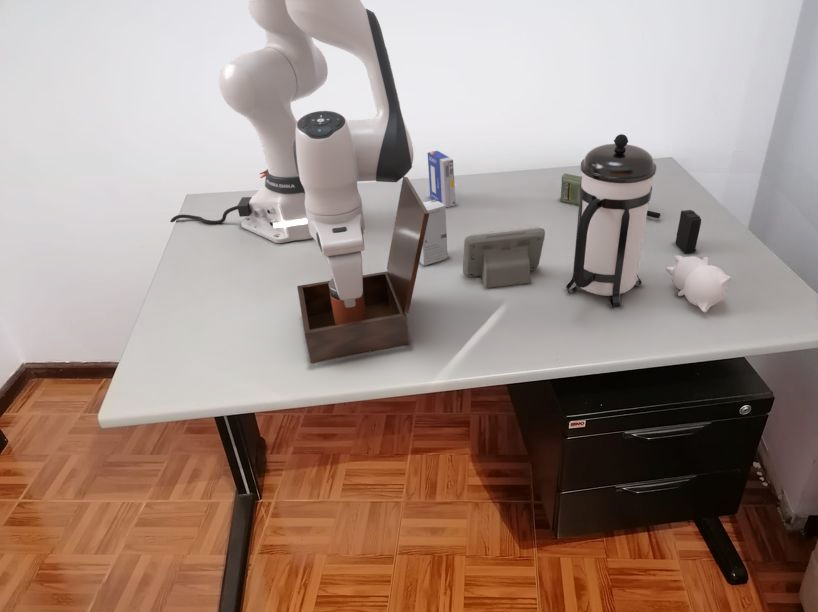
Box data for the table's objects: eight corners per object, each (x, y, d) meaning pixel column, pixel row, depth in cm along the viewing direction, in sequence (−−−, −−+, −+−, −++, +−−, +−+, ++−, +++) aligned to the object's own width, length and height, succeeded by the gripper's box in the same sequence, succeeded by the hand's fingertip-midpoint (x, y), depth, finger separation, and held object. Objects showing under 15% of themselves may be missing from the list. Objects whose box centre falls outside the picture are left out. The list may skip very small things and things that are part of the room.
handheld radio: (564, 197, 160) (661, 218, 149) (559, 202, 158) (656, 223, 147) (566, 171, 156) (665, 191, 145) (560, 176, 154) (660, 197, 143)
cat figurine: (680, 240, 120) (720, 267, 110) (715, 259, 125) (756, 287, 116) (653, 279, 123) (689, 309, 113) (688, 296, 128) (726, 326, 119)
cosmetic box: (424, 266, 133) (420, 213, 126) (413, 258, 136) (409, 205, 129) (449, 258, 136) (446, 205, 129) (438, 250, 139) (435, 198, 132)
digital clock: (540, 265, 132) (543, 218, 126) (544, 287, 125) (547, 238, 119) (463, 266, 133) (461, 219, 126) (462, 289, 126) (460, 240, 119)
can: (329, 329, 113) (321, 286, 107) (348, 313, 117) (342, 271, 111) (355, 338, 111) (348, 294, 105) (374, 321, 115) (368, 278, 109)
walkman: (430, 197, 162) (427, 151, 155) (439, 195, 163) (437, 149, 156) (445, 208, 157) (443, 160, 150) (455, 205, 158) (453, 158, 151)
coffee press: (553, 272, 130) (562, 123, 112) (630, 267, 131) (651, 119, 113) (570, 318, 116) (584, 157, 98) (656, 313, 117) (686, 152, 99)
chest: (311, 367, 106) (304, 333, 102) (303, 317, 119) (297, 285, 115) (409, 348, 110) (406, 315, 106) (392, 302, 122) (388, 270, 118)
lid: (424, 213, 96) (429, 213, 97) (403, 176, 109) (407, 177, 109) (404, 312, 105) (408, 313, 106) (386, 268, 118) (390, 268, 118)
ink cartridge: (695, 253, 135) (702, 218, 130) (685, 254, 135) (692, 219, 130) (684, 242, 139) (691, 208, 134) (675, 243, 139) (681, 209, 134)
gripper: (310, 198, 109) (322, 268, 117) (322, 252, 93) (335, 329, 101) (347, 193, 110) (356, 263, 118) (365, 246, 94) (375, 322, 103)
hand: (347, 294), depth 110 cm, fingers closed on can, 6 cm apart
